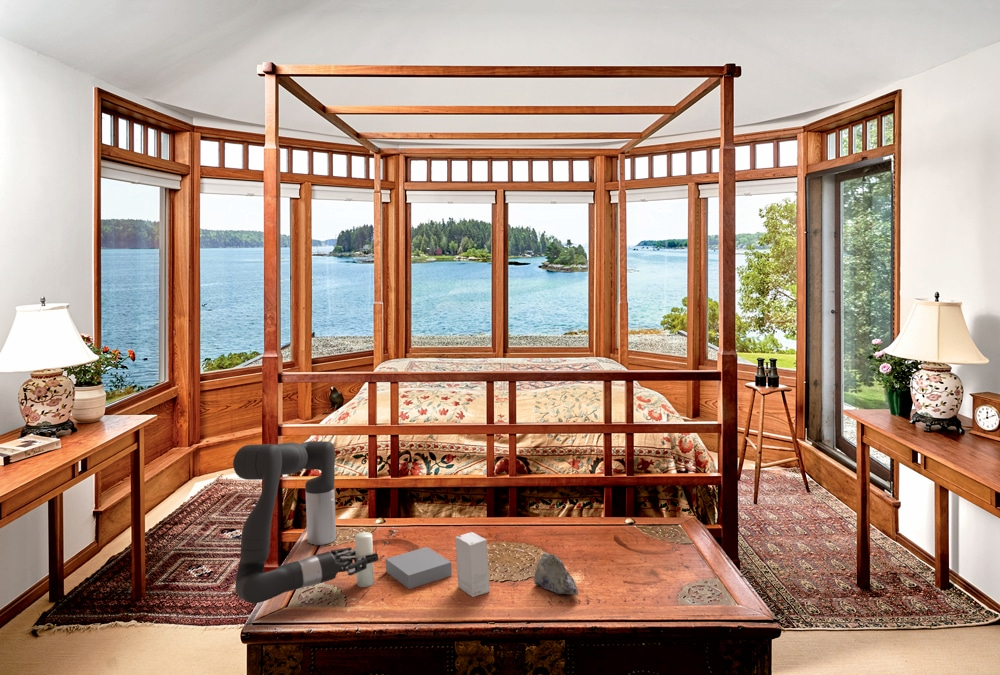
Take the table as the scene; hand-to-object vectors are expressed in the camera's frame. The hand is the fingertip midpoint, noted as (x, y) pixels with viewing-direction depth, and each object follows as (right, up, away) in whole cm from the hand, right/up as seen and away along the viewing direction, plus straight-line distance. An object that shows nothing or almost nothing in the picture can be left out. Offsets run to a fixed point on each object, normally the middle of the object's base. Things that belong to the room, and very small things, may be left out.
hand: (373, 553), depth 186 cm
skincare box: (+29, -8, -6) cm, 30 cm away
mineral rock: (+52, -8, -7) cm, 53 cm away
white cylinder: (-2, -8, -1) cm, 8 cm away
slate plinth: (+12, -7, +5) cm, 15 cm away
